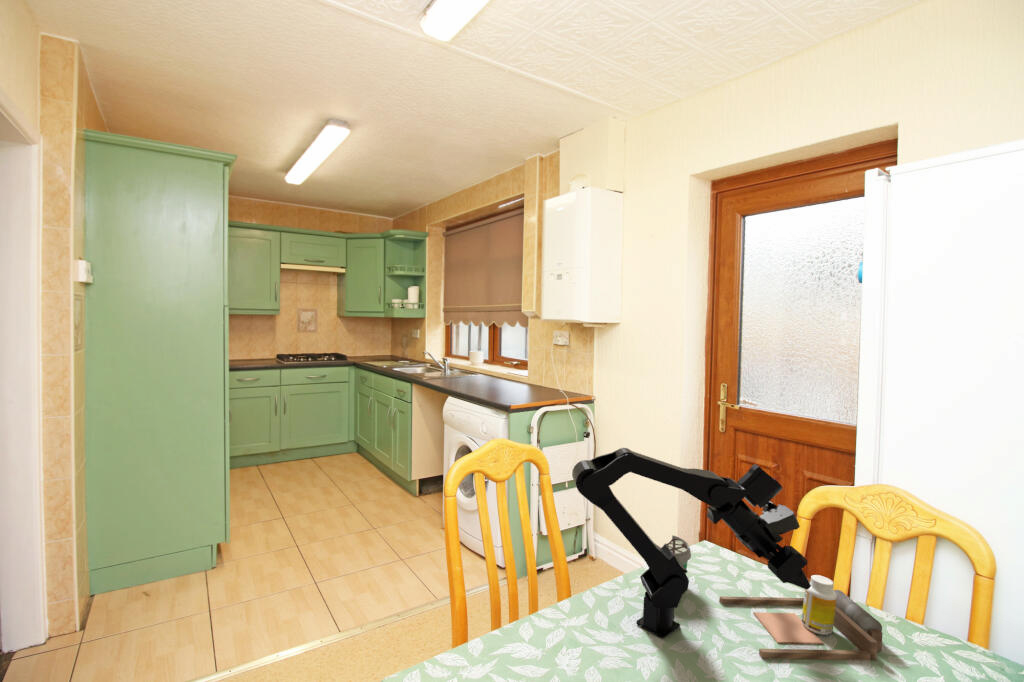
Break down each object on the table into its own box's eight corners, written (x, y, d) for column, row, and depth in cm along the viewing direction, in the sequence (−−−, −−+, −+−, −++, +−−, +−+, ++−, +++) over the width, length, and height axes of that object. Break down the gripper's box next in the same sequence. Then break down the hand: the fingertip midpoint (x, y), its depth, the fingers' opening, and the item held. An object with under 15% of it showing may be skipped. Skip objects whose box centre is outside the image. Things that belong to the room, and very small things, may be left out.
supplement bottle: (839, 635, 103) (845, 586, 102) (816, 637, 101) (822, 587, 101) (816, 619, 108) (822, 572, 108) (794, 620, 107) (800, 573, 106)
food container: (679, 604, 113) (681, 560, 112) (652, 594, 116) (654, 551, 116) (696, 582, 122) (698, 541, 122) (671, 573, 126) (673, 534, 126)
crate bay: (761, 658, 95) (762, 630, 95) (719, 601, 114) (720, 578, 114) (896, 660, 95) (898, 632, 95) (832, 603, 114) (833, 580, 114)
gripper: (799, 512, 94) (855, 571, 95) (751, 480, 113) (798, 529, 113) (754, 553, 94) (811, 612, 95) (714, 514, 113) (762, 564, 114)
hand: (795, 575), depth 104 cm, fingers open, 9 cm apart
